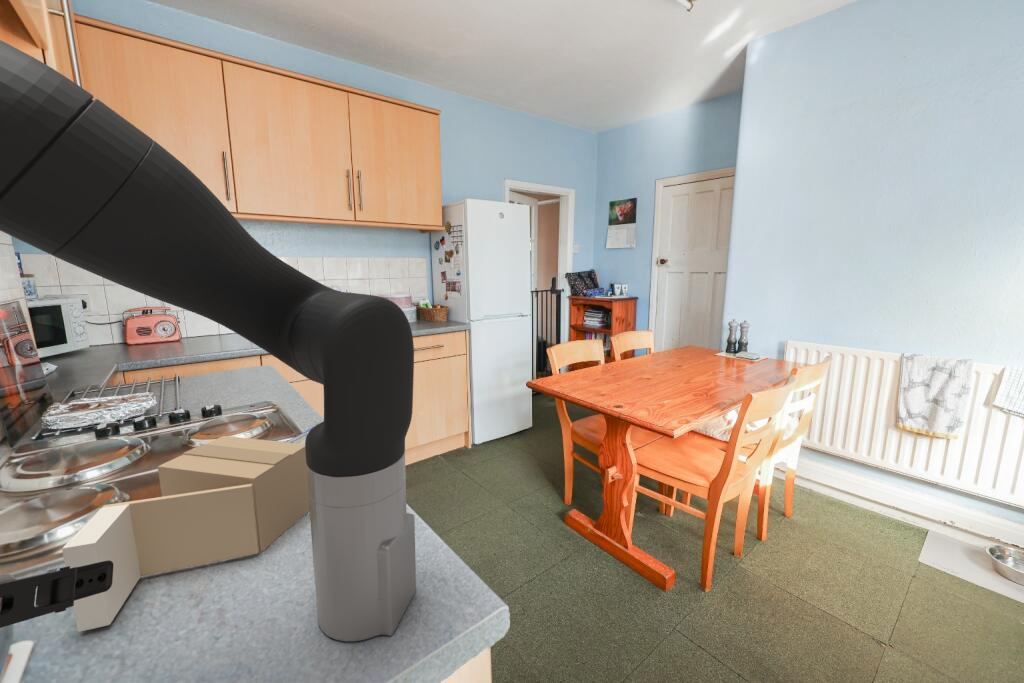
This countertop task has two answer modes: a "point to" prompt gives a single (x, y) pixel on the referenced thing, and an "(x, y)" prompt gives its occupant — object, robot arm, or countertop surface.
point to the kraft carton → (246, 478)
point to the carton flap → (160, 541)
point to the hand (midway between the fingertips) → (59, 584)
